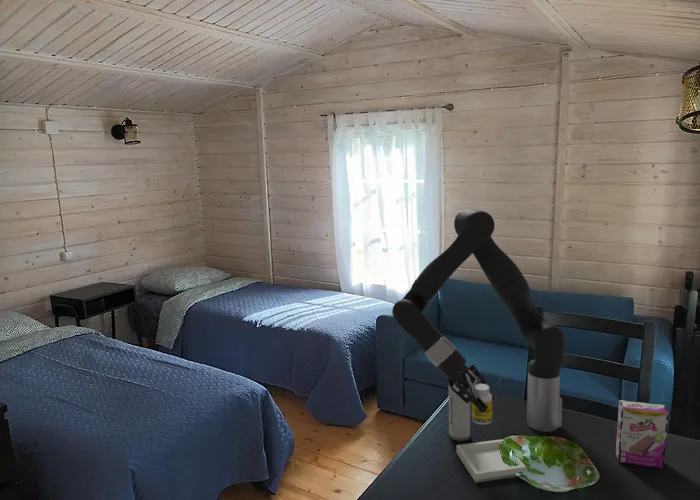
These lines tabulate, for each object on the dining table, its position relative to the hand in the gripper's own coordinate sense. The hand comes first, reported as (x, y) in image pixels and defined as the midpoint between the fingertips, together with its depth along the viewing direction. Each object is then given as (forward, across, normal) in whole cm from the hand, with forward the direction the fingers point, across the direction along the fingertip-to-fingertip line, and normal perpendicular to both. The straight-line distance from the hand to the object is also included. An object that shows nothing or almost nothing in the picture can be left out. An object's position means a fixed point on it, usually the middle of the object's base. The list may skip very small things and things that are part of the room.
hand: (488, 405), depth 139 cm
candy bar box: (+38, +20, -12) cm, 45 cm away
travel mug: (+4, +11, +21) cm, 24 cm away
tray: (+12, 0, +12) cm, 18 cm away
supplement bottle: (+2, 0, +5) cm, 5 cm away
